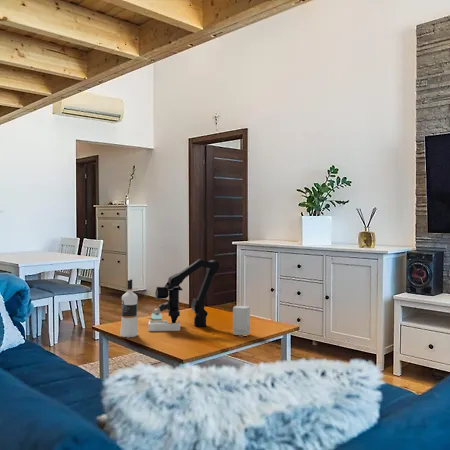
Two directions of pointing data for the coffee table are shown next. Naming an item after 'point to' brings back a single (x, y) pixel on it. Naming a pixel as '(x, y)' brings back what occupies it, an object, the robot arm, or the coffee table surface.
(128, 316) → the vodka
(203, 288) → the robot arm
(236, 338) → the coffee table surface
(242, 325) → the skincare box
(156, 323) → the channel
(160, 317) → the cover
